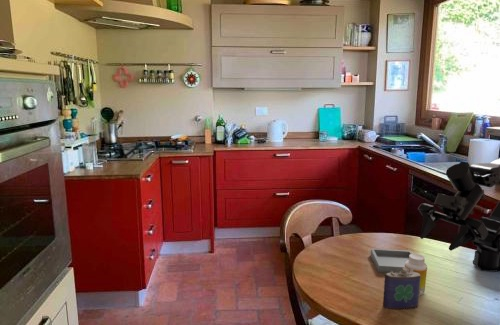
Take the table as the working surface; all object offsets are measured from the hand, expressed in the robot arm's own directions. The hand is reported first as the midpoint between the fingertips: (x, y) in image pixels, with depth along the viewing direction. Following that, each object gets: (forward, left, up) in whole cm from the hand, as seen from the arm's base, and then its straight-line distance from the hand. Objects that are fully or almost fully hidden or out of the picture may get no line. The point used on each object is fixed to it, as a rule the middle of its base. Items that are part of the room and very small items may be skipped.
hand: (434, 243), depth 108 cm
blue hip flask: (+11, +13, -13) cm, 21 cm away
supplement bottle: (+6, +4, -13) cm, 15 cm away
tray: (+7, -12, -13) cm, 19 cm away
